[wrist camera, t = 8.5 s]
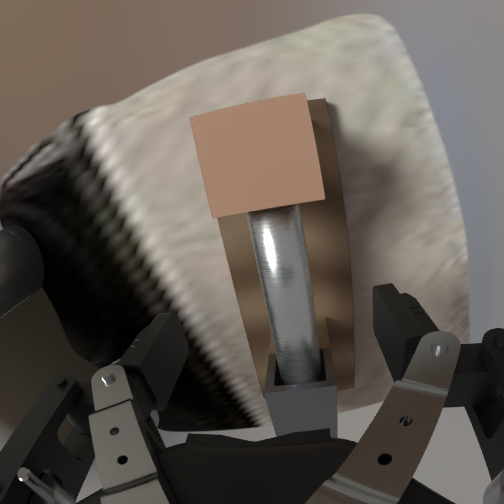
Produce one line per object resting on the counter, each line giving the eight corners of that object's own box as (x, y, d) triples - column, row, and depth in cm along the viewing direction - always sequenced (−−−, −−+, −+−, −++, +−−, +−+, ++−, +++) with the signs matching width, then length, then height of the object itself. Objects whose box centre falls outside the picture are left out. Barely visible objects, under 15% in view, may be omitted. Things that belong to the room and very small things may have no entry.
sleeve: (334, 416, 24) (337, 451, 20) (284, 421, 25) (282, 456, 21) (330, 347, 21) (336, 385, 17) (268, 354, 22) (264, 393, 18)
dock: (352, 379, 29) (360, 418, 24) (264, 390, 31) (259, 428, 26) (323, 100, 20) (334, 86, 15) (200, 124, 22) (175, 119, 17)
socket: (310, 179, 22) (325, 199, 13) (240, 191, 22) (212, 218, 14) (297, 114, 20) (305, 93, 12) (227, 128, 21) (189, 117, 13)
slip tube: (321, 374, 22) (323, 401, 19) (284, 378, 22) (283, 405, 20) (289, 150, 16) (289, 151, 14) (239, 160, 17) (230, 162, 14)
